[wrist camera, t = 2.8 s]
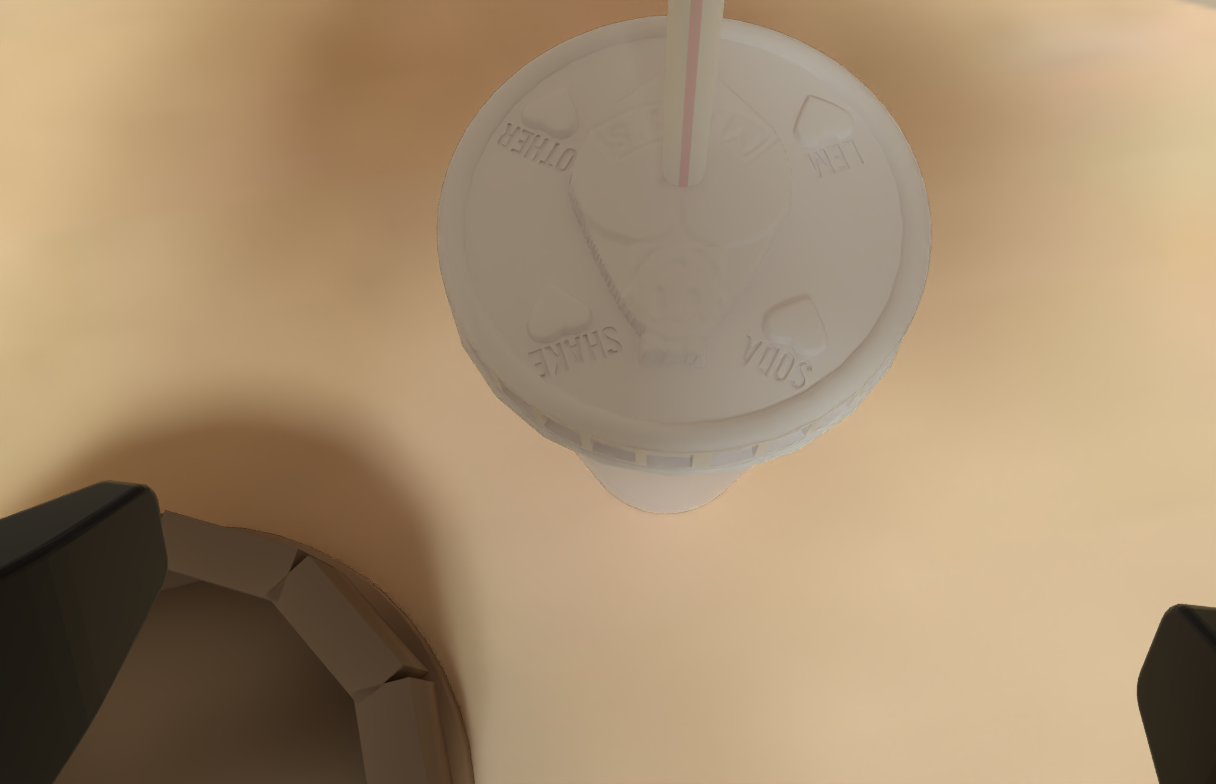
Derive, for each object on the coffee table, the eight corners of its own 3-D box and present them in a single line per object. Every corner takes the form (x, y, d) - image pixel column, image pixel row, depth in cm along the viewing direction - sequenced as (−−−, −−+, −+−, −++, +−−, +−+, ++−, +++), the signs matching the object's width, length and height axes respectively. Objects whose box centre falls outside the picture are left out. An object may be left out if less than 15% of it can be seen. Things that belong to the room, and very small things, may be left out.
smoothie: (811, 306, 22) (1059, -313, 9) (812, 587, 20) (1136, 323, 7) (534, 293, 23) (379, -320, 9) (507, 568, 20) (258, 283, 7)
